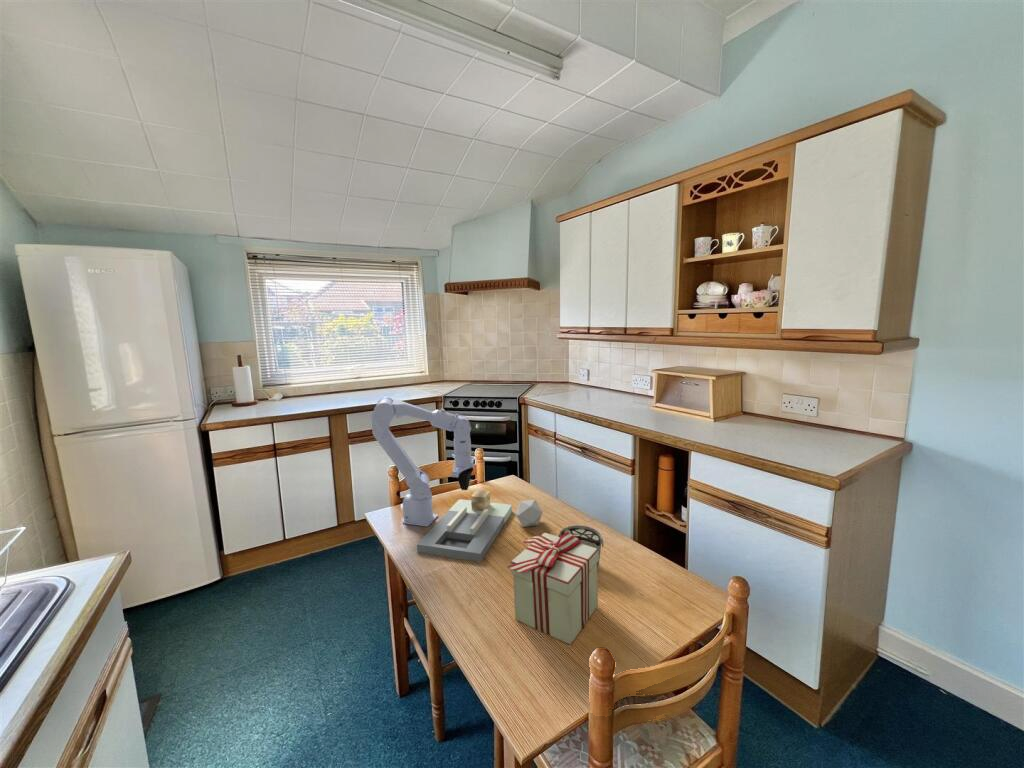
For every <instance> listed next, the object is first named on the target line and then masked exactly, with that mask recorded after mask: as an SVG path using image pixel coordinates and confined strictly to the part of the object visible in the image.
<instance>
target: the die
mask: <svg viewBox="0 0 1024 768" xmlns="http://www.w3.org/2000/svg"><path fill="white" fill-rule="evenodd" d="M542 515H543V510H542V509H541V507H540V505H539V503H538V502H537V499H528V500H526V499H525V500H520V501H519V503H518V506H517V508H516V511H515V516H516V517H517V520H518V521H519V523H520V524H521V527H522V528H525V527H531V526H532V527H533V526H538V525H539V524H540V521H541V518H542Z"/></svg>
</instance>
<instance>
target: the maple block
mask: <svg viewBox="0 0 1024 768" xmlns="http://www.w3.org/2000/svg"><path fill="white" fill-rule="evenodd" d="M470 500H471V505H472V510H478V511H484V510H485V509H488V507H489V506H490V503H491V491H489V490H479V489H478V490H475V491H474V492H473V493H472V495H471V497H470Z"/></svg>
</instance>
